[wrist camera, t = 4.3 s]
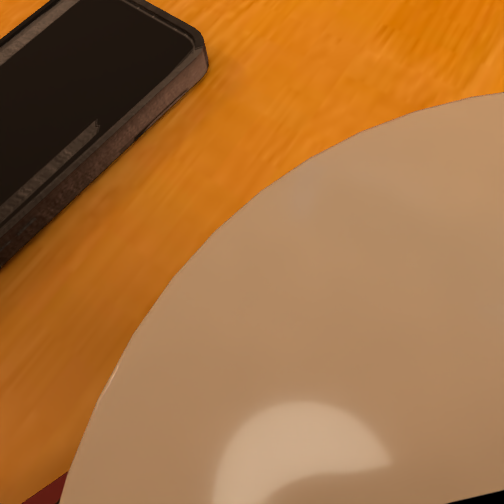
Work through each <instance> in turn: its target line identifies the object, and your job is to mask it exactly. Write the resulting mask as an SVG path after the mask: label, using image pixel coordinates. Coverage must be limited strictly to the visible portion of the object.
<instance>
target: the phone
mask: <svg viewBox="0 0 504 504" xmlns="http://www.w3.org/2000/svg"><path fill="white" fill-rule="evenodd" d="M208 66H209V64H208V56H207V52H206V48H205V43H204V39H203V37H202V35H201V33H200V32H199V31H198V30H197V29H195V28H194V27H192V26H190V25H188V24H187V23H185V22H183V21H181V20H179V19H178V18H176V17H174V16H172V15H170V14H169V13H167V12H165V11H163V10H161V9H160V8H158V7H156V6H154V5H152V4H151V3H149V2H147V1H145V0H50V1H49V2H47V3H46V4H45V5H44V6H42V7H41V8H40V9H38V10H37V11H36V12H35V13H33V14H32V15H31V16H30V17H28V18H27V19H26V20H24V21H23V22H22V23H21V24H19V25H18V26H17V27H16V28H14V29H13V30H12V31H10V32H9V33H8V34H7V35H5V36H4V37H3V38H1V39H0V268H1V267H2V266H3V265H4V264H5V263H6V262H7V261H8V260H9V259H10V258H11V257H12V256H13V255H15V254H16V253H17V252H18V251H19V250H20V249H21V248H22V247H23V246H24V245H25V244H26V243H27V242H28V241H29V240H30V239H32V238H33V237H34V236H35V235H36V234H37V233H38V232H39V231H40V230H41V229H42V228H43V227H44V226H45V225H46V224H47V223H49V222H50V221H51V220H52V219H53V218H54V217H55V216H56V215H57V214H58V213H59V212H60V211H61V210H62V209H63V208H64V207H65V206H67V205H68V204H69V203H70V202H71V201H72V200H73V199H74V198H75V197H76V196H77V195H78V194H79V193H80V192H81V191H82V190H84V189H85V188H86V187H87V186H88V185H89V184H90V183H91V182H92V181H93V180H94V179H95V178H96V177H97V176H98V175H99V174H101V173H102V172H103V171H104V170H105V169H106V168H107V167H108V166H109V165H110V164H111V163H112V162H113V161H114V160H115V159H116V158H117V157H119V156H120V155H121V154H122V153H123V152H124V151H125V150H126V149H127V148H128V147H129V146H130V145H131V144H132V143H133V142H134V141H136V140H137V139H138V138H139V137H140V136H141V135H142V134H143V133H144V132H145V131H146V130H147V129H148V128H149V127H150V126H151V125H153V124H154V123H155V122H156V121H157V120H158V119H159V118H160V117H161V116H162V115H163V114H164V113H165V112H166V111H167V110H168V109H169V108H171V107H172V106H173V105H174V104H175V103H176V102H177V101H178V100H179V99H180V98H181V97H182V96H183V95H184V94H185V93H186V92H188V91H189V90H190V89H191V88H192V87H193V86H194V85H195V84H196V83H197V82H198V81H199V80H200V79H201V78H202V77H203V76H204V75H205V73H206V72H207V69H208Z"/></svg>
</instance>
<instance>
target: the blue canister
mask: <svg viewBox="0 0 504 504" xmlns="http://www.w3.org/2000/svg"><path fill="white" fill-rule="evenodd" d="M59 504H504V92H502V93H495V94H489V95H482V96H475V97H469V98H465V99H461V100H458V101H454V102H450V103H446V104H442V105H438V106H434V107H430V108H426V109H422V110H418V111H415V112H412V113H409V114H407V115H404V116H401V117H399V118H396V119H393V120H391V121H388V122H385V123H383V124H380V125H377V126H375V127H372V128H369V129H367V130H364V131H361V132H359V133H357V134H355V135H353V136H352V137H350V138H348V139H346V140H344V141H342V142H340V143H338V144H336V145H334V146H332V147H330V148H328V149H326V150H324V151H322V152H321V153H319V154H317V155H315V156H313V157H311V158H309V159H308V160H306V161H305V162H303V163H302V164H300V165H299V166H297V167H296V168H294V169H293V170H291V171H290V172H288V173H287V174H285V175H284V176H282V177H281V178H279V179H278V180H277V181H275V182H274V183H272V184H271V185H269V186H268V187H266V188H265V189H263V190H262V191H260V192H259V193H258V194H257V195H256V196H255V197H254V198H252V199H251V200H250V201H249V202H248V203H247V204H245V205H244V206H243V207H242V208H241V209H240V210H239V211H237V212H236V213H235V214H234V215H233V216H232V217H231V218H229V219H228V220H227V221H226V222H225V223H224V224H223V225H221V226H220V227H219V228H218V229H217V230H216V231H215V232H214V233H213V234H212V235H211V236H210V237H209V238H208V239H207V241H206V242H205V243H204V244H203V245H202V246H201V247H200V248H199V249H198V251H197V252H196V253H195V254H194V255H193V256H192V257H191V258H190V259H189V261H188V262H187V263H186V264H185V265H184V266H183V267H182V268H181V269H180V271H179V272H178V273H177V274H176V275H175V276H174V277H173V278H172V280H171V281H170V283H169V284H168V285H167V287H166V288H165V290H164V291H163V293H162V294H161V295H160V297H159V298H158V300H157V301H156V303H155V304H154V305H153V307H152V308H151V310H150V311H149V312H148V314H147V315H146V317H145V318H144V320H143V321H142V322H141V324H140V325H139V327H138V328H137V330H136V331H135V332H134V334H133V336H132V337H131V339H130V341H129V343H128V345H127V347H126V348H125V350H124V352H123V354H122V356H121V358H120V360H119V361H118V363H117V365H116V367H115V369H114V371H113V372H112V374H111V376H110V378H109V380H108V382H107V384H106V385H105V387H104V389H103V391H102V393H101V395H100V396H99V398H98V400H97V403H96V405H95V408H94V410H93V413H92V415H91V418H90V420H89V423H88V425H87V428H86V430H85V433H84V435H83V437H82V440H81V442H80V445H79V447H78V450H77V452H76V455H75V457H74V460H73V462H72V465H71V467H70V470H69V472H68V475H67V478H66V481H65V485H64V488H63V492H62V495H61V499H60V502H59Z"/></svg>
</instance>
